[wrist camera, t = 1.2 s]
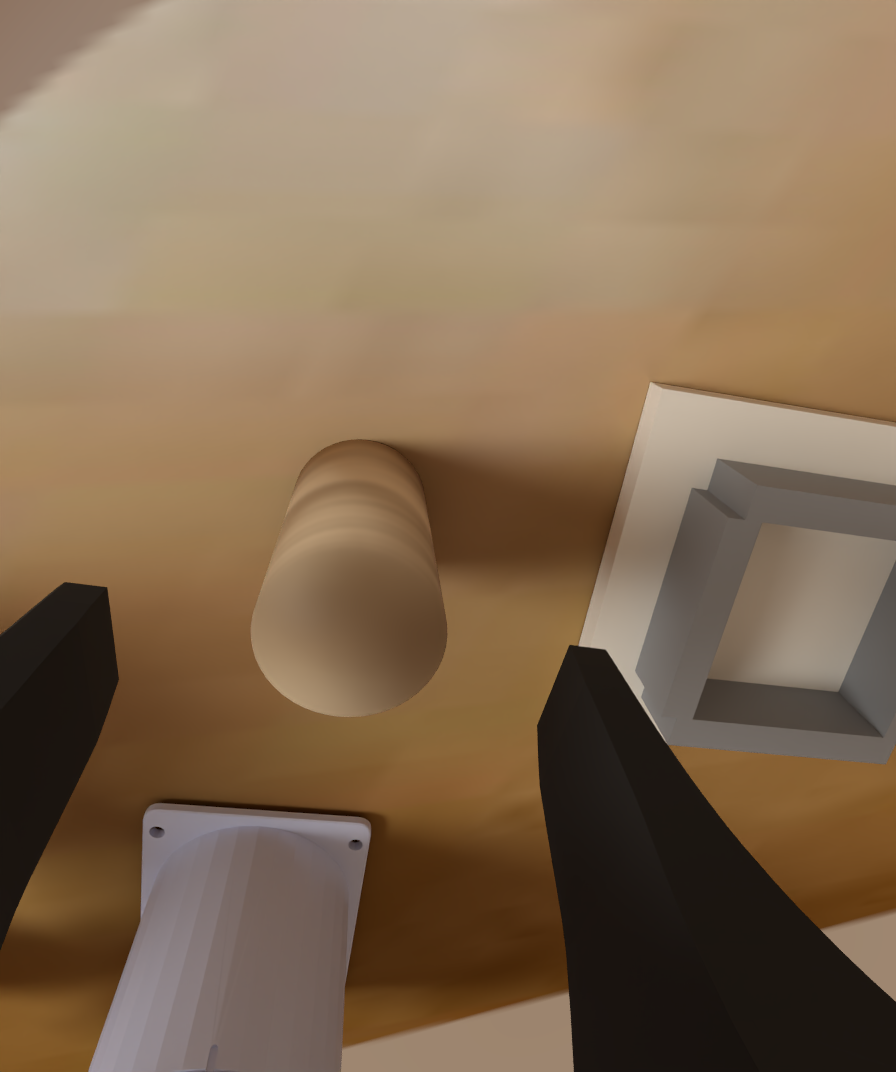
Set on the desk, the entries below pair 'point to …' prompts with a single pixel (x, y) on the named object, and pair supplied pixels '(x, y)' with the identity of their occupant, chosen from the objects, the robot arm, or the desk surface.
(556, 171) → the desk surface
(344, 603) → the rail end peg
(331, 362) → the desk surface
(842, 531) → the cup bracket
